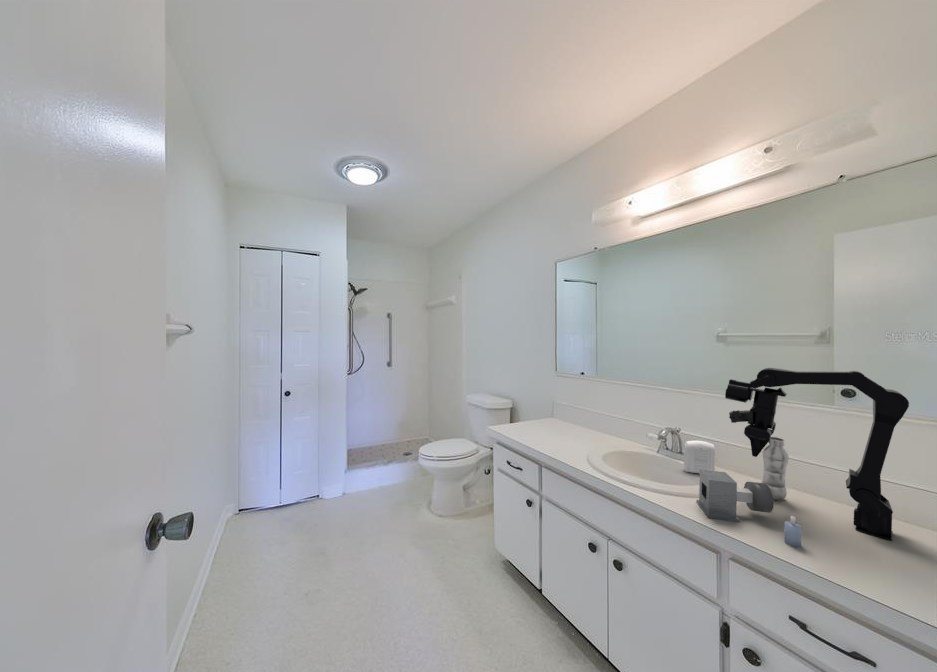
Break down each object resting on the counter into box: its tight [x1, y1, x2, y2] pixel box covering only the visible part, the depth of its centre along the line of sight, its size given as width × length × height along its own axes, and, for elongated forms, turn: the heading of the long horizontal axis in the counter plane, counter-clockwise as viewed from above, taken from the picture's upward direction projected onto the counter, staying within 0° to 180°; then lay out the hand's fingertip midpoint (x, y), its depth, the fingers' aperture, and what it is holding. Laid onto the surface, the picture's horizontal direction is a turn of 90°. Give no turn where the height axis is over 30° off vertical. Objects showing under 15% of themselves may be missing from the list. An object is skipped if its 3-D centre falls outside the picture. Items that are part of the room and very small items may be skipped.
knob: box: [737, 481, 775, 514], centre depth 105 cm, size 13×8×8 cm, turn 74°
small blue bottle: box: [783, 515, 802, 548], centre depth 91 cm, size 3×3×7 cm
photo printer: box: [683, 439, 716, 474], centre depth 137 cm, size 10×4×12 cm, turn 72°
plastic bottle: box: [760, 436, 790, 501], centre depth 115 cm, size 6×7×20 cm
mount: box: [696, 470, 741, 523], centre depth 107 cm, size 8×10×11 cm
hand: (756, 452), depth 115 cm, fingers open, 9 cm apart
